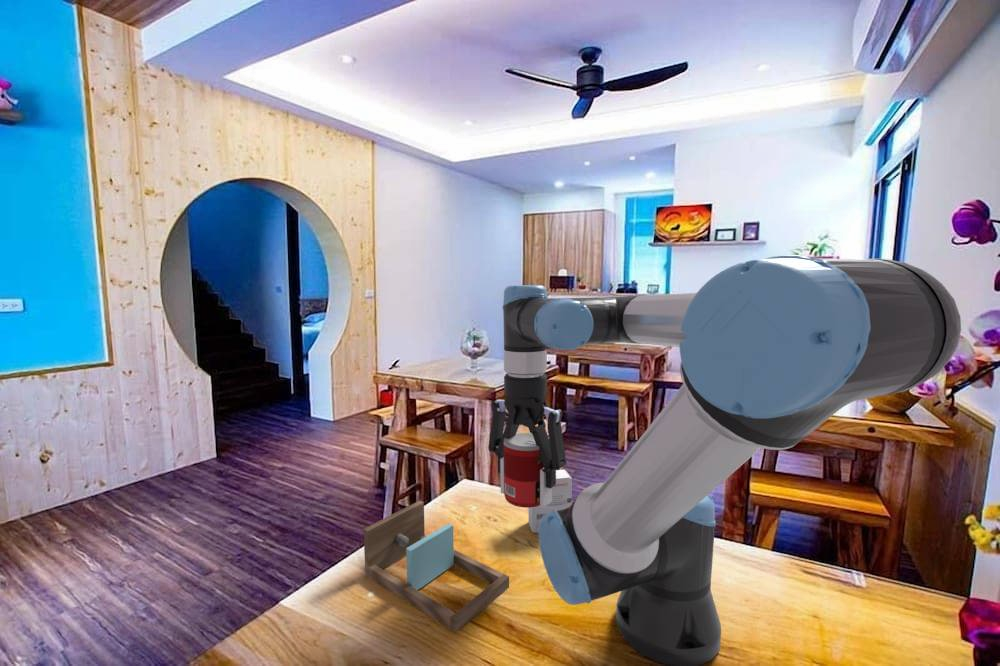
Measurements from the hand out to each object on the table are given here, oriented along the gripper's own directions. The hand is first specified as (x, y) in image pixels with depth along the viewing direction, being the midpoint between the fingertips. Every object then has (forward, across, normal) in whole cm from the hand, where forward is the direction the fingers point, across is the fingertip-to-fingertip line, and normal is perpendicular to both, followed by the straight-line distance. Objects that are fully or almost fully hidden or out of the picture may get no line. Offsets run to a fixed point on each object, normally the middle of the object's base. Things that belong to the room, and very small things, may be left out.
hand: (525, 496), depth 86 cm
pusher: (+14, +13, +13) cm, 22 cm away
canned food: (+1, 0, 0) cm, 1 cm away
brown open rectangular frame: (+14, +11, +13) cm, 22 cm away
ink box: (+14, +5, -15) cm, 21 cm away
